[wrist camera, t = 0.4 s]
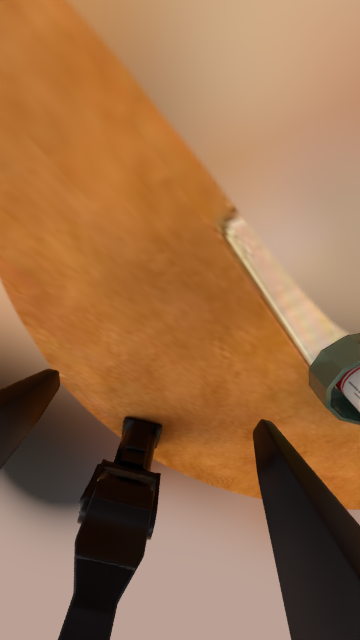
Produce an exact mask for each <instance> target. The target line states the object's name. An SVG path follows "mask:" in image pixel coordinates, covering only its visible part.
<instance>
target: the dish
mask: <svg viewBox="0 0 360 640" xmlns="http://www.w3.org/2000/svg"><path fill="white" fill-rule="evenodd" d="M359 365H360V333H359V334H353V335H348V336H345V337H344V338H342V339H340V340H339V341H337V342H335V343H334V344H332V345H330V346H329V347H327V348H325V349H324V350H322V351H321V353H320V354H319V355H318V357H317V358H316V360H315V361H314V362H313V364H312V365H311V367H310V368H309V385H310V387H311V388H312V390H313V391H314V392H315V394H316V395H317V396H318V398H319V399H320V400H321V402H322V403H323V404H324V406H325V407H326V408H327V409H328V410H329V411H330V412H331V413H332V414H333V415H334V416H335V417H336V418H337V419H338V420H340V421H345V422H349V423H353V424H358V425H360V412H359V411H358V410H357V408H356V407H355V406H354V405H353V404H352V403H351V402H350V401H349V400H348V399H347V397H346V396H345V395H344V394H343V393H342V392H341V391H340V390H338V389H334V388H333V387H334V386H335V385H336V384H337V383H338V381H339V380H340V379H341V378H342V377H343V375H344V374H345V373H346V372H347V371H349V370H351V369H353V368H355V367H357V366H359Z"/></svg>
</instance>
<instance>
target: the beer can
mask: <svg viewBox="0 0 360 640" xmlns="http://www.w3.org/2000/svg"><path fill="white" fill-rule="evenodd" d="M336 386H337V387H338V389H339V390H340V391H341V392H342V393H343V394H344V395H345V396H346V397H347V399H348V400H349V401H350V402H351V403H352V404H353V405H354V406H355V407H356V408H357V410H358V411H359V412H360V365H359V366H357V367H355V368H353V369H351V370H349V371H347V372H346V373H345V374H344V375H343V377H342V378H341V379H340V380H339V381H338V383H337V384H336Z"/></svg>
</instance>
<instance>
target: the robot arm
mask: <svg viewBox="0 0 360 640" xmlns="http://www.w3.org/2000/svg"><path fill="white" fill-rule="evenodd" d="M59 387H60V378H59V372H58V371H57V370H53V369H46V370H43V371H41V372H39V373H37V374H34V375H32V376H30V377H27V378H25V379H23V380H20V381H18V382H16V383H13V384H11V385H9V386H7V387H4V388H2V389H0V469H1V468H2V467H3V465H4V464H5V463H6V462H7V460H8V459H9V458H10V456H11V455H12V454H13V453H14V451H15V450H16V449H17V448H18V446H19V445H20V444H21V442H22V441H23V440H24V439H25V438H26V436H27V435H28V434H29V432H30V431H31V430H32V429H33V427H34V426H35V424H36V423H37V422H38V420H39V419H40V417H41V415H42V414H43V412H44V411H45V409H46V408H47V406H48V405H49V403H50V402H51V400H52V399H53V397H54V396H55V394H56V393H57V391H58V389H59ZM161 429H162V425H160V424H155V423H151V422H146V421H142V420H137V419H133V418H128V417H125V418H124V421H123V430H122V438H121V442H120V445H119V448H118V450H117V453H116V456H115V459H114V461H113V462H109V461H107V460H105V459H103V461H102V463H101V464H98V465H97V467H96V469H95V472H94V474H93V476H92V478H91V480H90V482H89V484H88V486H87V488H86V489H85V491H84V493H83V495H82V496H81V498H80V501H79V506H80V512H79V517H78V521H77V523H79V524H81V526H80V529H79V531H78V534H77V537H76V540H75V556H74V593H73V597H72V600H71V603H70V606H69V609H68V612H67V615H66V618H65V620H64V624H63V626H62V629H61V632H60V636H59V638H58V640H110V636H111V631H112V627H113V622H114V618H115V613H116V608H117V604H118V602H119V600H120V598H121V596H122V594H123V593H124V591H125V589H126V587H127V585H128V584H129V582H130V580H131V578H132V576H133V575H134V573H135V571H136V569H137V568H138V566H139V564H140V562H141V561H142V558H143V556H144V552H145V546H146V541H147V539H148V540H150V539H151V536H152V533H153V529H154V525H155V520H156V514H157V506H158V495H159V485H160V475H161V474H160V473H154V472H150V470H151V465H152V460H153V454H154V449H155V448H156V447H157V444H158V440H159V437H160V433H161ZM253 441H254V449H255V458H256V467H257V474H258V480H259V485H260V490H261V495H262V500H263V505H264V509H265V514H266V519H267V524H268V529H269V533H270V539H271V543H272V548H273V553H274V558H275V563H276V567H277V572H278V578H279V582H280V587H281V592H282V597H283V602H284V607H285V611H286V616H287V621H288V625H289V631H290V636H291V640H360V525H359V524H358V523H357V522H356V521H355V519H354V518H353V517H352V516H351V515H350V514H349V512H348V511H347V510H346V509H345V508H344V506H343V505H342V504H341V503H340V502H339V500H338V499H337V498H336V497H335V496H334V495H333V493H332V492H331V491H330V490H329V489H328V487H327V486H326V485H325V484H324V483H323V482H322V480H321V479H320V478H319V477H318V476H317V475H316V473H315V472H314V471H313V470H312V469H311V467H310V466H309V465H308V464H307V463H306V462H305V460H304V459H303V458H302V457H301V456H300V454H299V453H298V452H297V451H296V450H295V449H294V447H293V446H292V445H291V444H290V443H289V441H288V440H287V439H286V438H285V437H284V436H283V434H282V433H281V432H280V431H279V430H278V429H277V427H276V426H275V425H274V424H273V423H272V422H271V421H268V420H264V419H261V420H260V421H259V423H258V424H257V426H256V427H255V429H254V431H253Z"/></svg>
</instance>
